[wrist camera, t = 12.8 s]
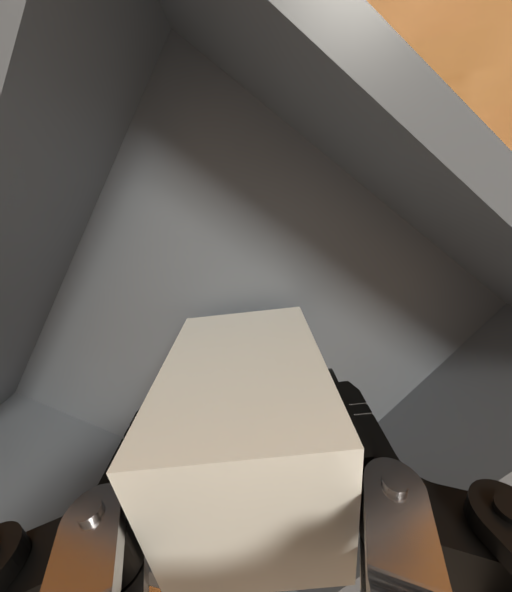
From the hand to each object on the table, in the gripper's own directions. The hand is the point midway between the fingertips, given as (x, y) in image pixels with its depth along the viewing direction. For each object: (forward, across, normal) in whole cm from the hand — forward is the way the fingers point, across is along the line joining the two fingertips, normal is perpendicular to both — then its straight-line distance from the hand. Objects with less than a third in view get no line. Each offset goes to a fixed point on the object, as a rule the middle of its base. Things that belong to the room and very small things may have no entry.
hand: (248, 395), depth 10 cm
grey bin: (+4, 0, 0) cm, 4 cm away
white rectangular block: (+2, 0, 0) cm, 2 cm away
